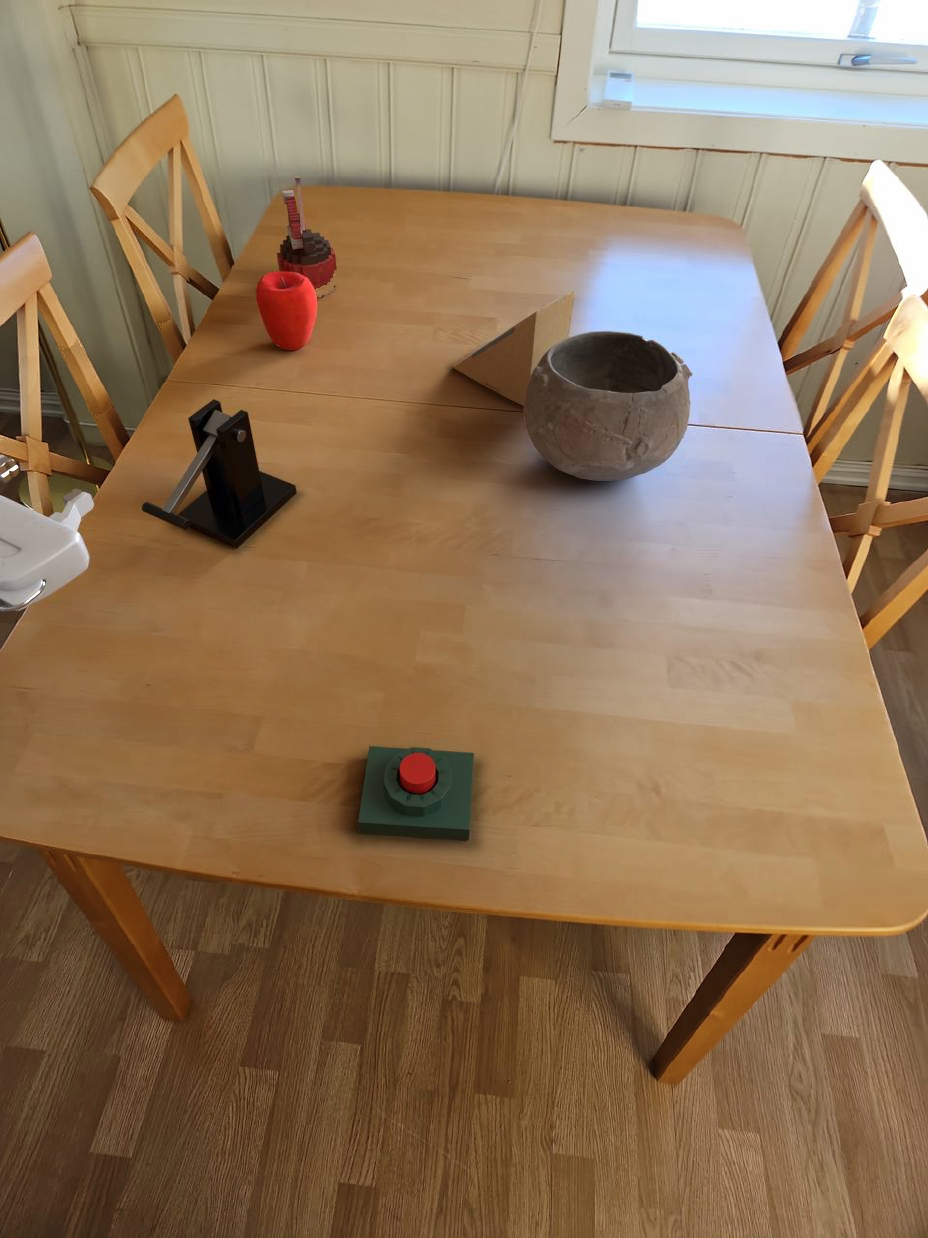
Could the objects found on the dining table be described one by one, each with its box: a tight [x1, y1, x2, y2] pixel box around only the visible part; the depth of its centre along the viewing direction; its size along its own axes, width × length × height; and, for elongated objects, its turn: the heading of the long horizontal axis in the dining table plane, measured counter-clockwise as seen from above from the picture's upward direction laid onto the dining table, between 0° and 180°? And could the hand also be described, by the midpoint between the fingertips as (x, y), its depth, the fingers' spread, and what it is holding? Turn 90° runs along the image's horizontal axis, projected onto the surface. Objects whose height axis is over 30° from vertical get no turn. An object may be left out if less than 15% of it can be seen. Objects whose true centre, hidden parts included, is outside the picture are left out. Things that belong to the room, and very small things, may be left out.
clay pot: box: [523, 330, 693, 482], centre depth 107 cm, size 21×21×15 cm
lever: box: [141, 410, 232, 531], centre depth 93 cm, size 14×6×2 cm, turn 151°
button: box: [400, 753, 435, 794], centre depth 74 cm, size 3×3×2 cm
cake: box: [276, 175, 339, 298], centre depth 134 cm, size 11×9×18 cm
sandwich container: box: [452, 290, 576, 407], centre depth 119 cm, size 9×15×15 cm, turn 47°
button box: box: [357, 745, 475, 842], centre depth 76 cm, size 10×8×4 cm
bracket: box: [177, 398, 298, 549], centre depth 98 cm, size 12×9×14 cm
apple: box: [255, 270, 318, 351], centre depth 125 cm, size 9×9×11 cm
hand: (48, 479), depth 75 cm, fingers open, 8 cm apart
